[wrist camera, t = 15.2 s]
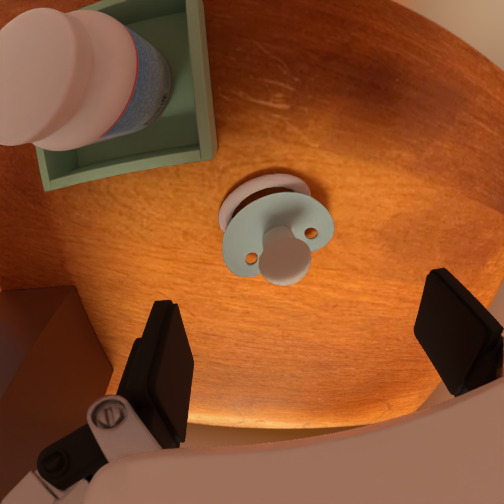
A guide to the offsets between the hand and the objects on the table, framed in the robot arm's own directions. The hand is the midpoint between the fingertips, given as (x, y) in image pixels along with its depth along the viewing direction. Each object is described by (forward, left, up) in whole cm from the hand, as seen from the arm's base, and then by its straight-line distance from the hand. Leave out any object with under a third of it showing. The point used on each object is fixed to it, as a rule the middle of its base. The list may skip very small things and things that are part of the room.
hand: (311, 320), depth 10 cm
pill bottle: (-8, +10, -11) cm, 17 cm away
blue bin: (-22, -9, -11) cm, 26 cm away
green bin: (-8, +10, -11) cm, 17 cm away
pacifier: (0, 0, -12) cm, 12 cm away
